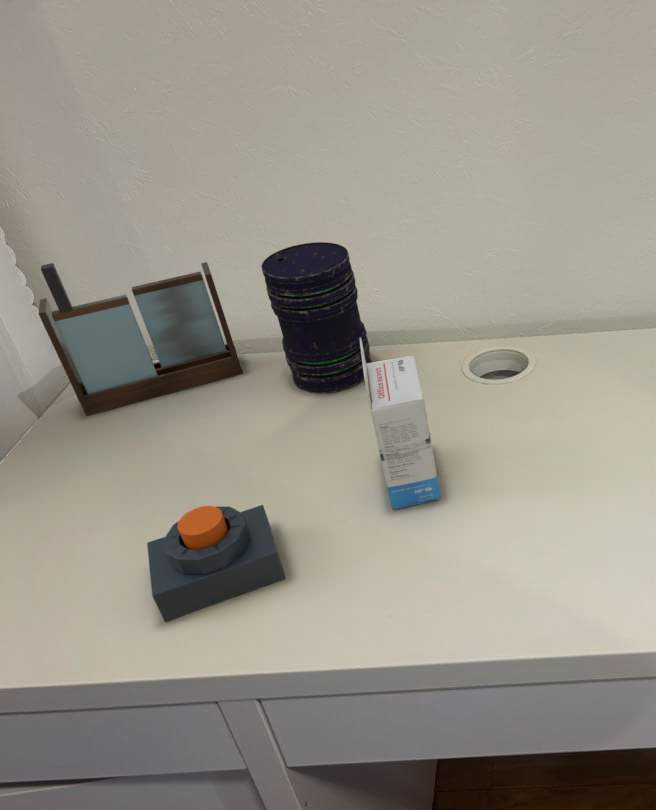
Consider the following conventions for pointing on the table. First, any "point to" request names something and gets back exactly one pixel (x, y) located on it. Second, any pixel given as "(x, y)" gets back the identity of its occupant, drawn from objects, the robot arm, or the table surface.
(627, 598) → the table surface
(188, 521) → the release button
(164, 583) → the button block
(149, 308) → the window frame
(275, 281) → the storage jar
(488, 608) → the table surface
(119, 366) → the window pane
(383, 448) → the ink box
